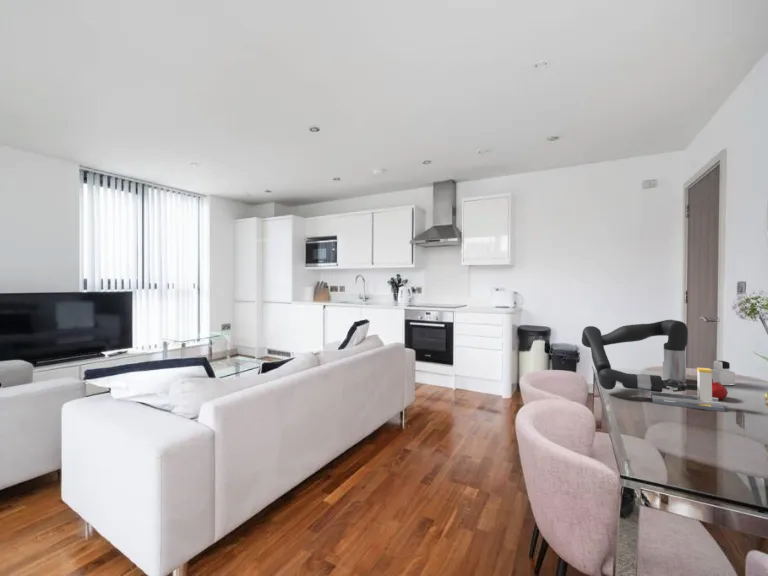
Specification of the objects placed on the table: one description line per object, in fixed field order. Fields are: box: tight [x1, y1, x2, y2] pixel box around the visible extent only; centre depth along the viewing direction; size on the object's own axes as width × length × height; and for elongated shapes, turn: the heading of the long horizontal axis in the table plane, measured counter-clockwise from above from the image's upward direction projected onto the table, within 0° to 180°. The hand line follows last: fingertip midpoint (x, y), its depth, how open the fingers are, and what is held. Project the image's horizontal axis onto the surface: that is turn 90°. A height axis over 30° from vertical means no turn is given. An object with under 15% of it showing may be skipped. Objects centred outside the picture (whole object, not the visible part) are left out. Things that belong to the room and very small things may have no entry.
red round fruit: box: [712, 379, 728, 401], centre depth 165 cm, size 10×10×9 cm
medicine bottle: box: [710, 360, 736, 385], centre depth 185 cm, size 7×7×12 cm
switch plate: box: [649, 391, 725, 413], centre depth 159 cm, size 24×11×3 cm, turn 59°
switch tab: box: [696, 367, 713, 402], centre depth 156 cm, size 4×5×15 cm
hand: (697, 387), depth 157 cm, fingers closed
